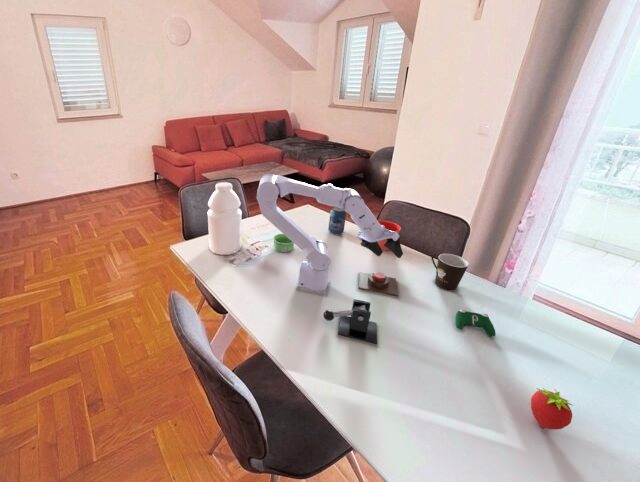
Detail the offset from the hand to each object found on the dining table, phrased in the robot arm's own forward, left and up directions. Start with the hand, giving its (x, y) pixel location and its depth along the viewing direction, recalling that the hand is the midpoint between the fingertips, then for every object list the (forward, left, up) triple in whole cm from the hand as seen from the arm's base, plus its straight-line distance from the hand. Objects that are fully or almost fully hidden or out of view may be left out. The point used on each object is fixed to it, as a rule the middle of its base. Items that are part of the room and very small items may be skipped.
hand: (390, 254), depth 99 cm
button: (-1, +3, -12) cm, 12 cm away
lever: (-11, -22, -11) cm, 27 cm away
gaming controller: (+24, -9, -14) cm, 29 cm away
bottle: (-61, +10, -14) cm, 64 cm away
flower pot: (+2, +34, -14) cm, 37 cm away
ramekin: (-38, +18, -14) cm, 44 cm away
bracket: (-7, -22, -14) cm, 27 cm away
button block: (-1, +3, -14) cm, 15 cm away
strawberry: (+29, -37, -14) cm, 49 cm away
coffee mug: (+21, +13, -14) cm, 28 cm away
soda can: (-18, +41, -14) cm, 47 cm away
